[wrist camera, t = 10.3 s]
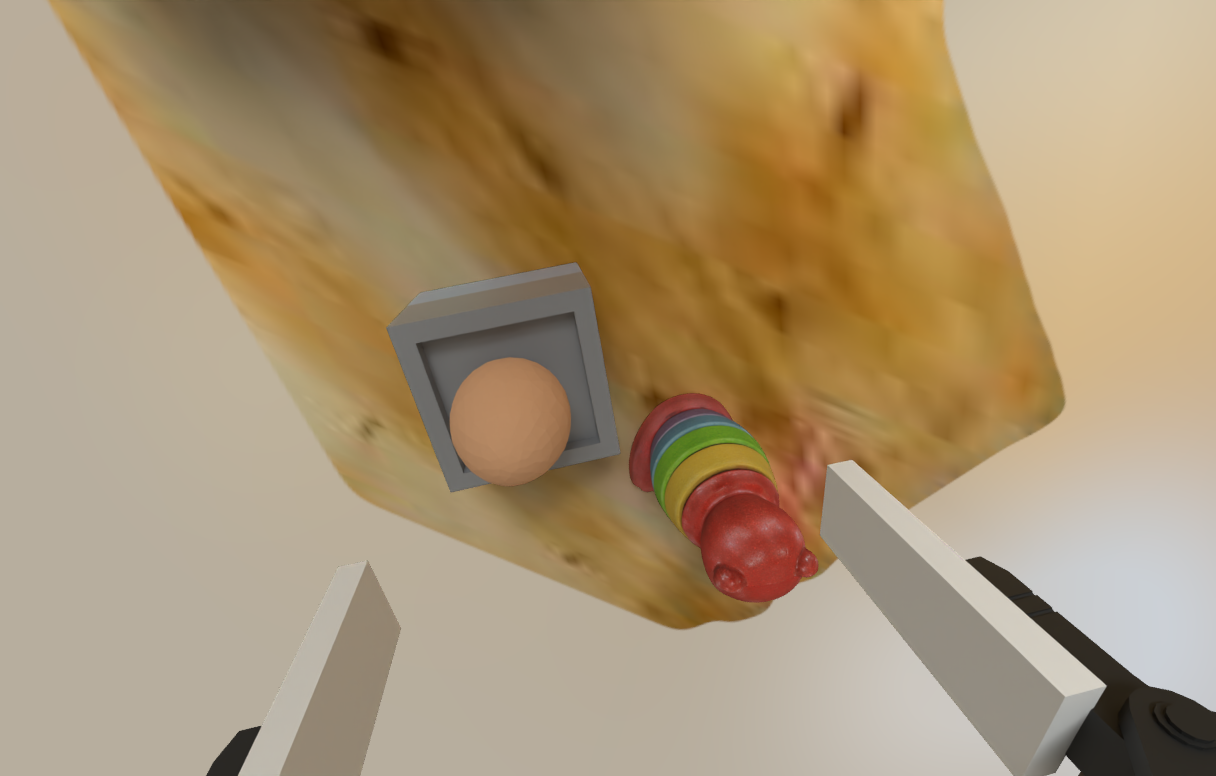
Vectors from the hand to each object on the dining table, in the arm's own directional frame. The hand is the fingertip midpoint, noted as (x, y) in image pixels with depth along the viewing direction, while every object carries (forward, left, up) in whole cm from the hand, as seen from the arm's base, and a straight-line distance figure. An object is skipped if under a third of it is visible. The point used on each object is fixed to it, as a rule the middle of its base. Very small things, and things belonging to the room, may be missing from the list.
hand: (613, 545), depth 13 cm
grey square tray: (+3, -4, -26) cm, 26 cm away
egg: (+2, -4, -18) cm, 19 cm away
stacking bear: (+14, +9, -26) cm, 31 cm away
